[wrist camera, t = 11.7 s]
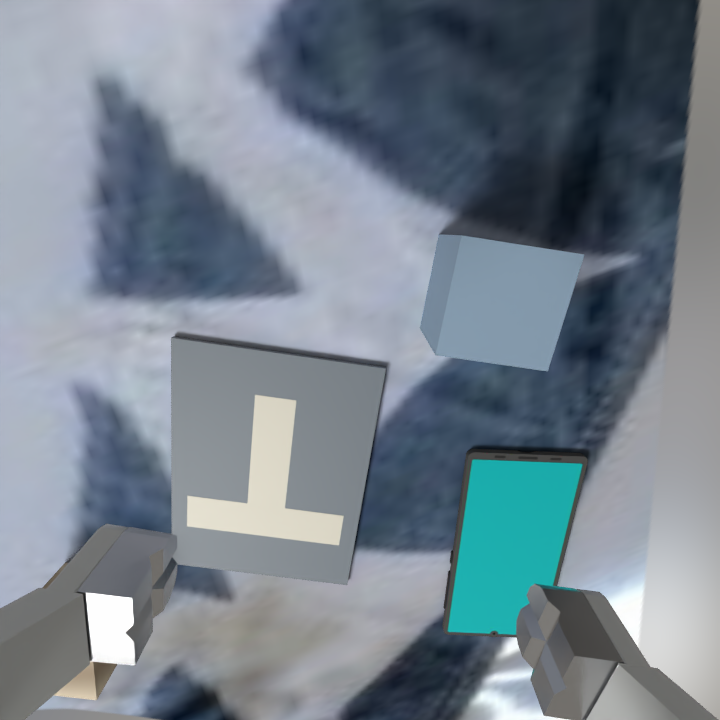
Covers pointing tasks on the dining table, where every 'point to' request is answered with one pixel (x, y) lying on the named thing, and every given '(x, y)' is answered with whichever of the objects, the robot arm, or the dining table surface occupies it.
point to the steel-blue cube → (497, 300)
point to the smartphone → (508, 535)
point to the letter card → (269, 458)
